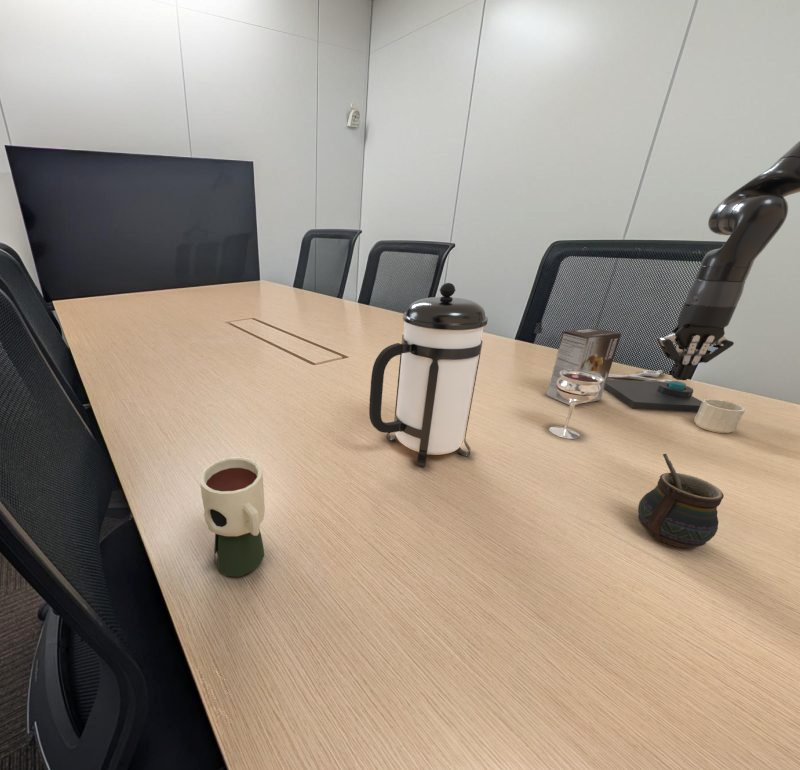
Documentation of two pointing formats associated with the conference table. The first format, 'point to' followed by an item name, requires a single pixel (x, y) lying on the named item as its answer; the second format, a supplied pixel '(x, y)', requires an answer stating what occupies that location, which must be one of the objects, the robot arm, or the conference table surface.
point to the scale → (653, 395)
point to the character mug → (234, 512)
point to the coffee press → (432, 374)
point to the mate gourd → (681, 509)
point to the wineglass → (576, 395)
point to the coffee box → (584, 356)
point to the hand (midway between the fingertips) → (678, 378)
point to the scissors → (645, 373)
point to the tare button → (677, 385)
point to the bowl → (719, 415)
